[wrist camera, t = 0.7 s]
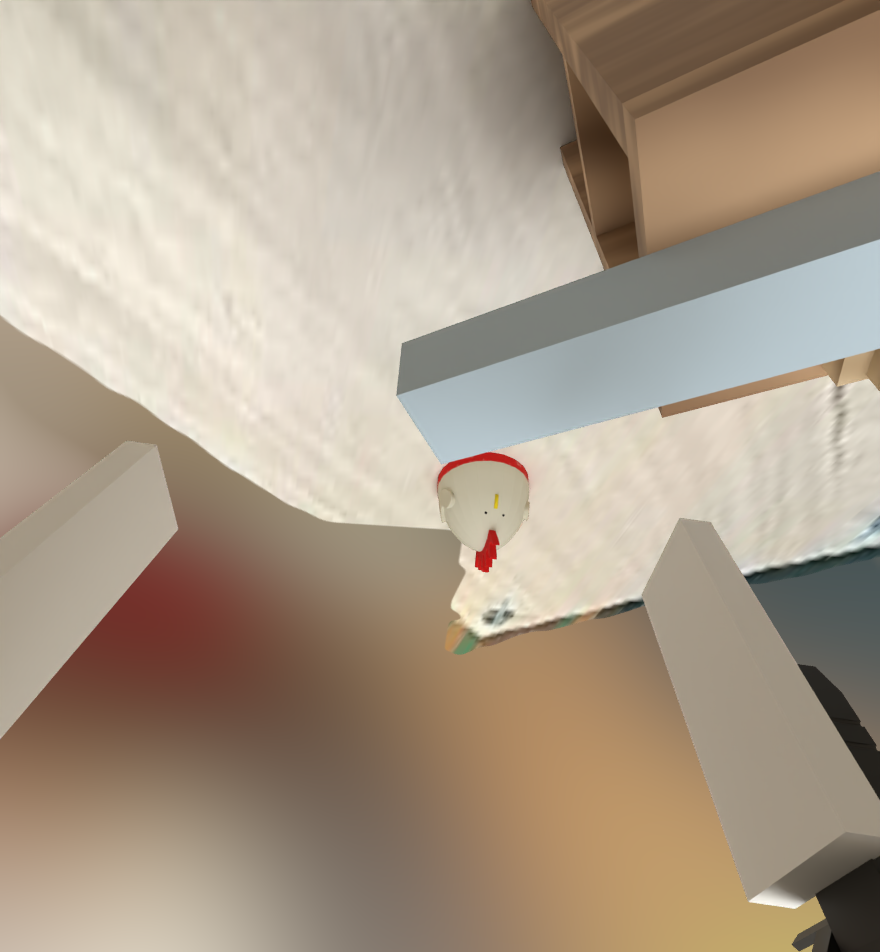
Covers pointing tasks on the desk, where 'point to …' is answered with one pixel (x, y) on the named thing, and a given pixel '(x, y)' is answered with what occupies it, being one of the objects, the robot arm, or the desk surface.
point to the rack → (715, 123)
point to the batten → (656, 328)
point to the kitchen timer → (484, 502)
